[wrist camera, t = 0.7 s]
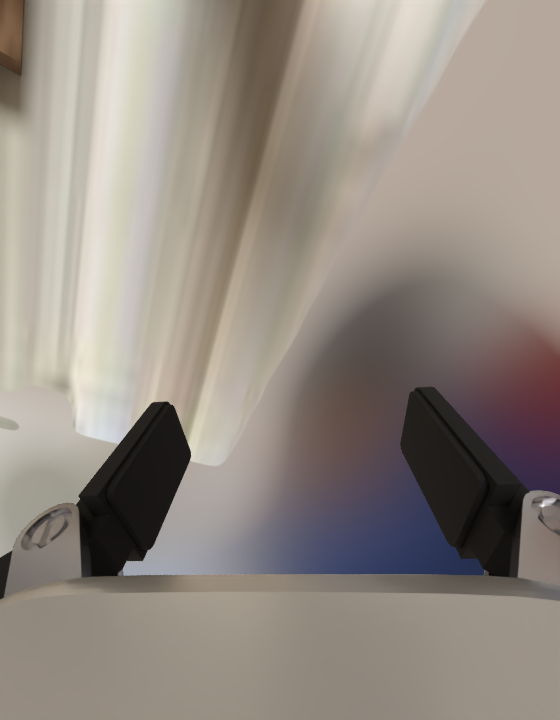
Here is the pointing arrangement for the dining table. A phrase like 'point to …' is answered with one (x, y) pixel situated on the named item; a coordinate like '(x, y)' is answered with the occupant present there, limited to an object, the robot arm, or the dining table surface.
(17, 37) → the box
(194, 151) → the dining table surface
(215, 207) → the dining table surface
